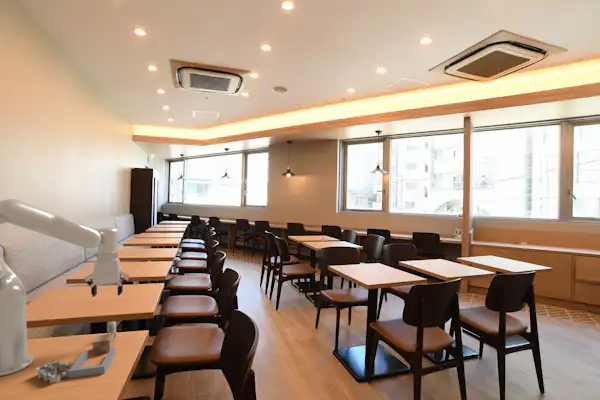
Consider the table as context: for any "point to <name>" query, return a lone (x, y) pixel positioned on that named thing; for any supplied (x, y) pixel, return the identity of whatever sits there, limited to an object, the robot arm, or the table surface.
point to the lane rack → (90, 370)
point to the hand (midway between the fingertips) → (107, 295)
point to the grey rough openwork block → (54, 371)
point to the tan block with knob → (105, 340)
